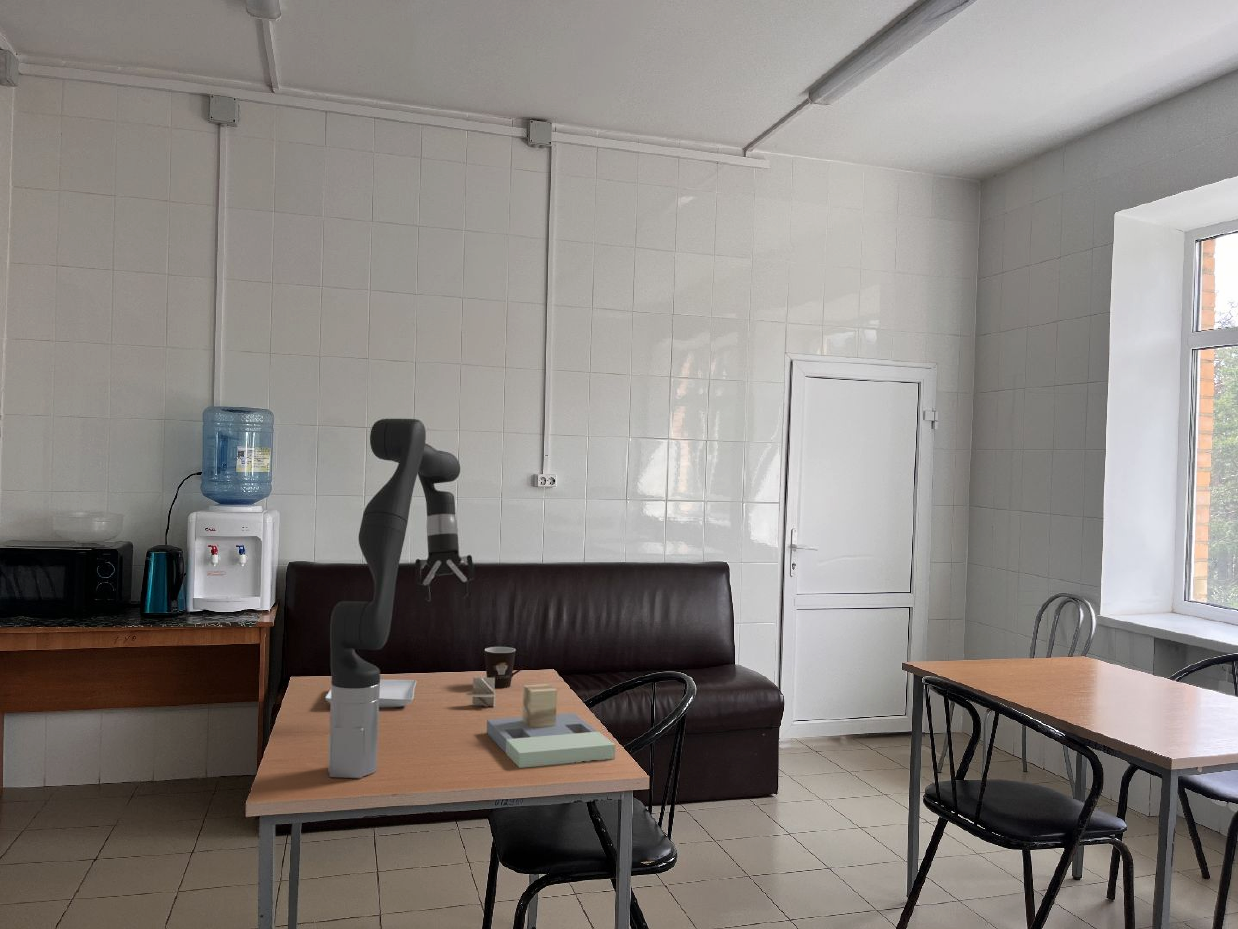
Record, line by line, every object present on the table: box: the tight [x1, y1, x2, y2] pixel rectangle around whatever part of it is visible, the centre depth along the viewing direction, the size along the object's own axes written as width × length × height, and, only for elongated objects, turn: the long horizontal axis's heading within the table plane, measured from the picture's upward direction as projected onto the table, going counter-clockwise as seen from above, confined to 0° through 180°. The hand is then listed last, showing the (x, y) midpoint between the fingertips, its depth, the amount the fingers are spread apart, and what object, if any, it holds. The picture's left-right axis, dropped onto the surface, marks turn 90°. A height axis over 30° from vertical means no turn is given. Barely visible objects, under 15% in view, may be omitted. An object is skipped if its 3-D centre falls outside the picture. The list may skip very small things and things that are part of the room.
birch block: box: [522, 683, 558, 728], centre depth 209 cm, size 6×6×8 cm
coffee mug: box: [484, 646, 529, 690], centre depth 256 cm, size 12×9×10 cm
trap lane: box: [486, 712, 616, 769], centre depth 203 cm, size 26×21×3 cm
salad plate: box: [324, 678, 418, 709], centre depth 237 cm, size 21×21×3 cm
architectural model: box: [465, 676, 496, 708], centre depth 233 cm, size 3×7×7 cm, turn 92°
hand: (446, 599), depth 226 cm, fingers open, 8 cm apart
